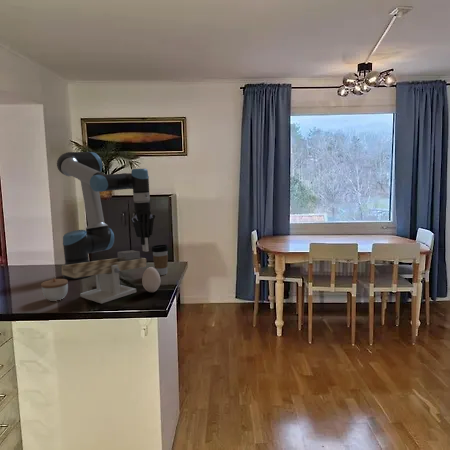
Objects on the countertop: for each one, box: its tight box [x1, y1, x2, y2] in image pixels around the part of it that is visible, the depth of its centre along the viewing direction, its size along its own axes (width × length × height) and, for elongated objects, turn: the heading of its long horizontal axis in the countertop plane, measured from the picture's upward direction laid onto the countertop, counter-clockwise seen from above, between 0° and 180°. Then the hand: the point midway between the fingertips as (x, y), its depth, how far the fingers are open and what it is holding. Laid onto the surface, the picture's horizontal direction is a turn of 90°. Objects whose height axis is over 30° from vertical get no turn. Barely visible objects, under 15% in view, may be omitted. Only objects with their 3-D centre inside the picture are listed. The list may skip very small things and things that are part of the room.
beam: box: [61, 256, 147, 278], centre depth 180 cm, size 36×10×4 cm, turn 140°
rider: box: [117, 249, 141, 262], centre depth 189 cm, size 8×6×5 cm
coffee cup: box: [151, 244, 169, 276], centre depth 212 cm, size 8×8×15 cm
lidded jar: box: [40, 277, 69, 302], centre depth 178 cm, size 11×11×9 cm
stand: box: [80, 265, 137, 304], centre depth 181 cm, size 18×16×14 cm
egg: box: [141, 266, 162, 293], centre depth 182 cm, size 8×8×11 cm
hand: (145, 251), depth 196 cm, fingers closed
